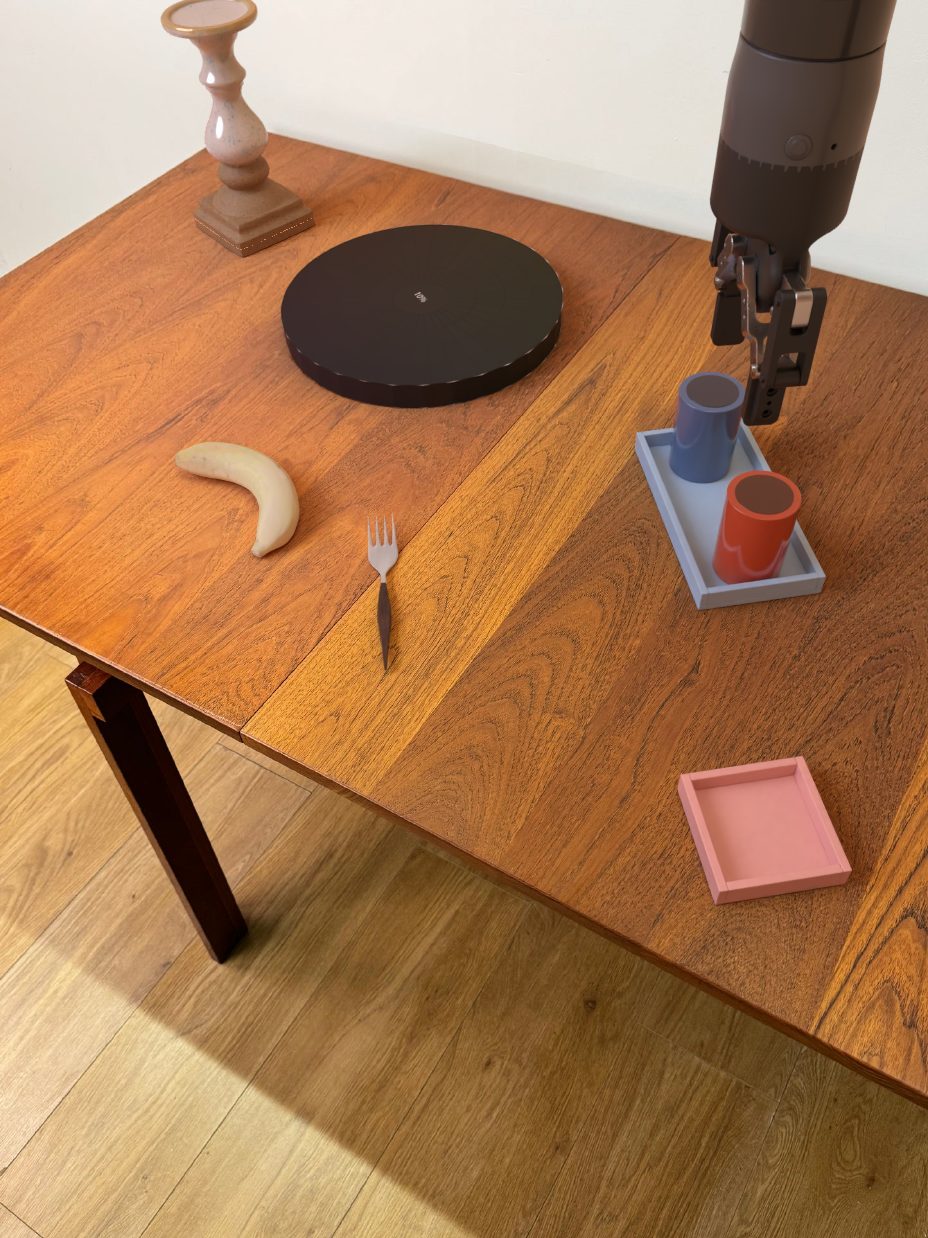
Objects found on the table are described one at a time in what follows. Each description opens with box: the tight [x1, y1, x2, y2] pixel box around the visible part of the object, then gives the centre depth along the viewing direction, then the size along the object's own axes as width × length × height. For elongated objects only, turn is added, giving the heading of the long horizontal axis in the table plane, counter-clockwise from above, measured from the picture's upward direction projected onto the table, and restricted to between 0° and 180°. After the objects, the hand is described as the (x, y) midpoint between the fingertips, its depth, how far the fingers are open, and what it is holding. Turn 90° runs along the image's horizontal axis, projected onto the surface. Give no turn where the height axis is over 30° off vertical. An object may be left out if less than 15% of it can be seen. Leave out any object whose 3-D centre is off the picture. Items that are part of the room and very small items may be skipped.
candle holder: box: [160, 0, 316, 258], centre depth 114 cm, size 11×11×24 cm
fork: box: [367, 512, 399, 671], centre depth 82 cm, size 3×16×2 cm, turn 4°
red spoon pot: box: [712, 470, 803, 585], centre depth 79 cm, size 6×6×8 cm
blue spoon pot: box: [669, 371, 746, 483], centre depth 88 cm, size 6×6×8 cm
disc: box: [280, 223, 564, 409], centre depth 107 cm, size 30×30×3 cm
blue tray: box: [634, 418, 827, 611], centre depth 86 cm, size 10×20×2 cm, turn 8°
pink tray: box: [676, 755, 853, 906], centre depth 67 cm, size 9×9×2 cm
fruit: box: [174, 441, 300, 558], centre depth 90 cm, size 7×15×3 cm, turn 38°
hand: (741, 380), depth 65 cm, fingers open, 8 cm apart
